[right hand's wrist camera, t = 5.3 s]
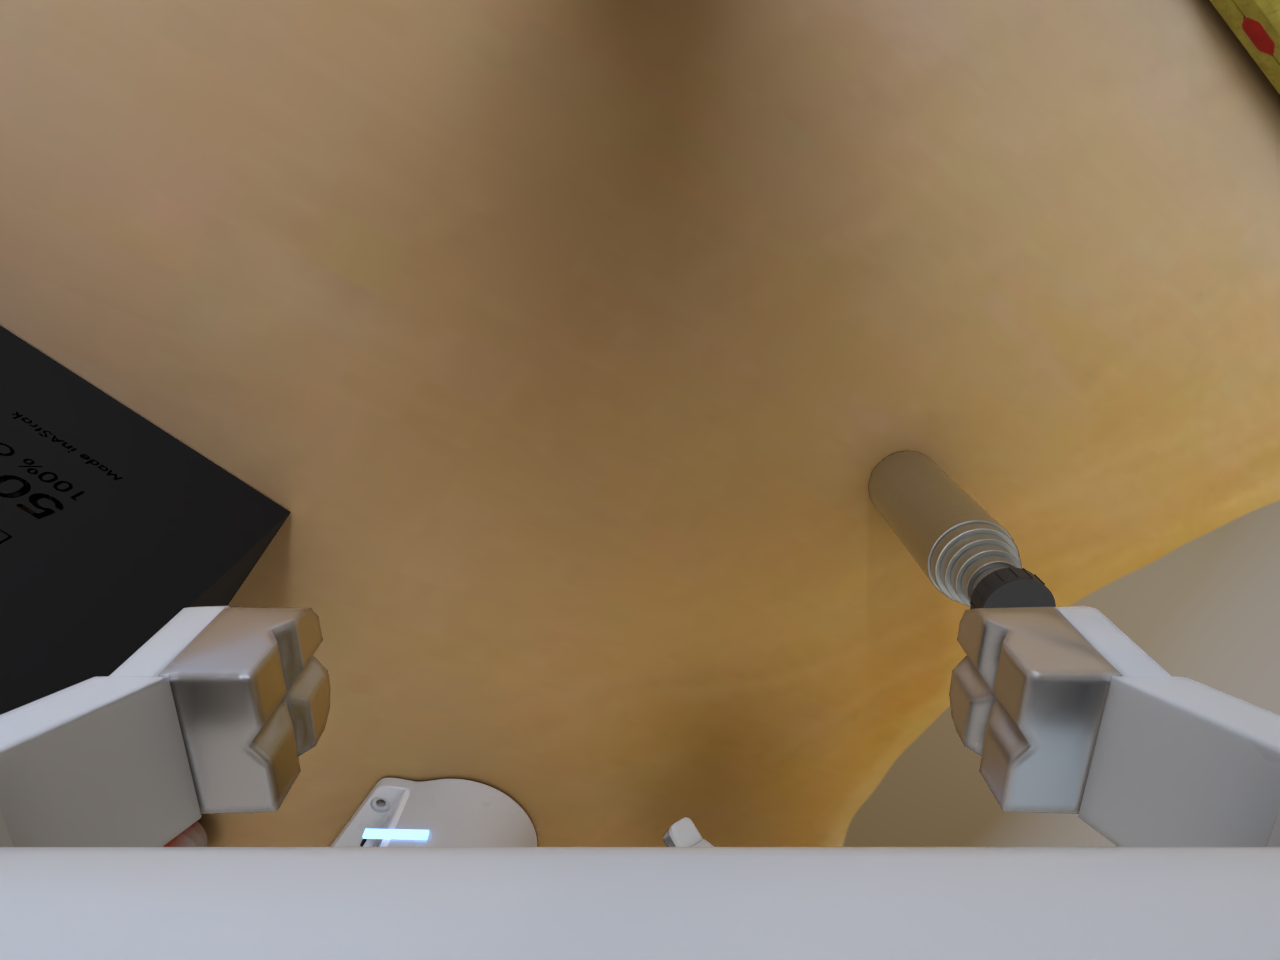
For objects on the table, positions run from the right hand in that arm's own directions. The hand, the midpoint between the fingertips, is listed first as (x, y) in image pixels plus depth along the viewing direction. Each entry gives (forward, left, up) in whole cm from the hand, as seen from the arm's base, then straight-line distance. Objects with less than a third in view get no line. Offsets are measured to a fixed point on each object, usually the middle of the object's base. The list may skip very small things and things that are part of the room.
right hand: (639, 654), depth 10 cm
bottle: (+16, +20, -48) cm, 54 cm away
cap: (+16, +20, -29) cm, 38 cm away
